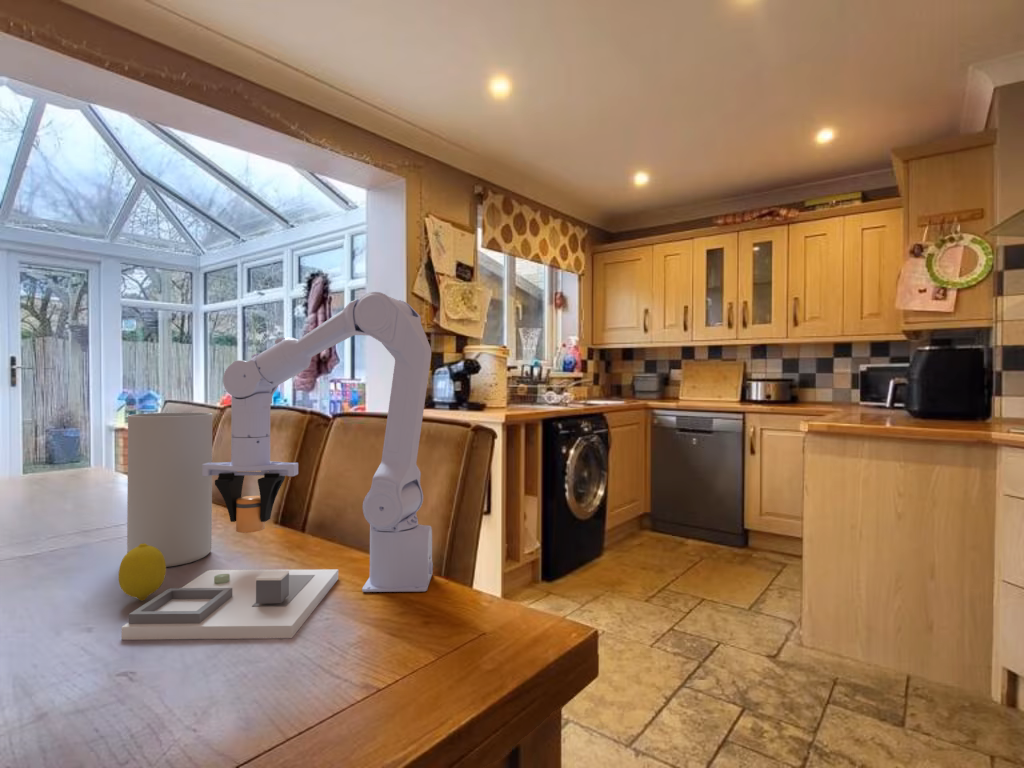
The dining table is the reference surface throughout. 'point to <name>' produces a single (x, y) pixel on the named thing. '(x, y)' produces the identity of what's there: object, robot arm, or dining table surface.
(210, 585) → the board
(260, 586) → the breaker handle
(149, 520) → the cylinder vase
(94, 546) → the dining table surface
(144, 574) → the lemon
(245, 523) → the cap
